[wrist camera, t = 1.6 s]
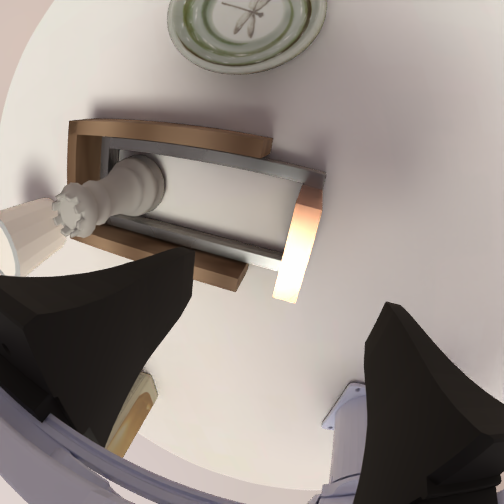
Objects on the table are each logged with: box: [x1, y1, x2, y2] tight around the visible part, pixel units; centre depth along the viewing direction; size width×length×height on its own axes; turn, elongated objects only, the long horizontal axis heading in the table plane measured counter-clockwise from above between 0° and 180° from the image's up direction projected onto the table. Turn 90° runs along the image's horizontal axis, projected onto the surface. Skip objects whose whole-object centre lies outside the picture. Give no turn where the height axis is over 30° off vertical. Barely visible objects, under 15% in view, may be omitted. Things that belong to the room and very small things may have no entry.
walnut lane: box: [67, 118, 273, 292], centre depth 19 cm, size 14×9×3 cm, turn 80°
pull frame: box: [100, 136, 326, 303], centre depth 17 cm, size 16×7×6 cm, turn 80°
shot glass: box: [0, 198, 66, 277], centre depth 21 cm, size 7×7×7 cm
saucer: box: [167, 0, 327, 75], centre depth 13 cm, size 10×10×2 cm
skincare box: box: [105, 372, 158, 458], centre depth 26 cm, size 6×4×12 cm
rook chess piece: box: [52, 155, 164, 238], centre depth 17 cm, size 4×4×8 cm
